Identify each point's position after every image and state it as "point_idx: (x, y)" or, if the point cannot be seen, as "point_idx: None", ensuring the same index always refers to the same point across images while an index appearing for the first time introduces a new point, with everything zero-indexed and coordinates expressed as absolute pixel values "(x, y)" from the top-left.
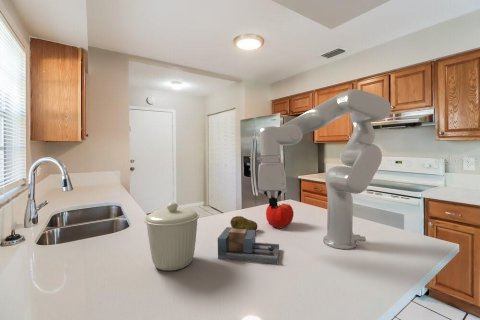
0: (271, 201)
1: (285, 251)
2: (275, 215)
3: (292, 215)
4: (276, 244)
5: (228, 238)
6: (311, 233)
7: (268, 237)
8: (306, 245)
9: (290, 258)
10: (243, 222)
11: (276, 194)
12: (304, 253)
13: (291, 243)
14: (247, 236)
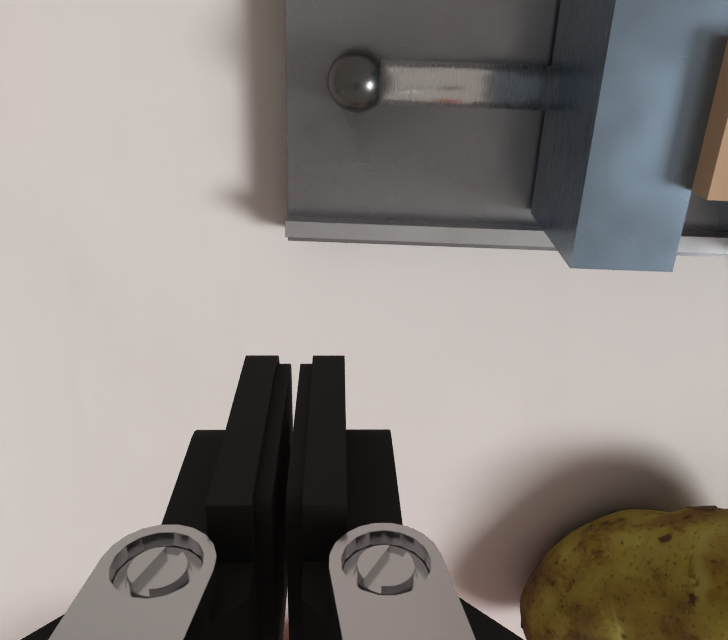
0: (326, 448)
1: (230, 197)
2: None
3: None
4: (311, 224)
5: None
6: (35, 589)
7: (405, 470)
8: (52, 351)
9: (171, 48)
10: (693, 586)
11: (107, 631)
12: (52, 181)
13: (188, 374)
14: (688, 14)
